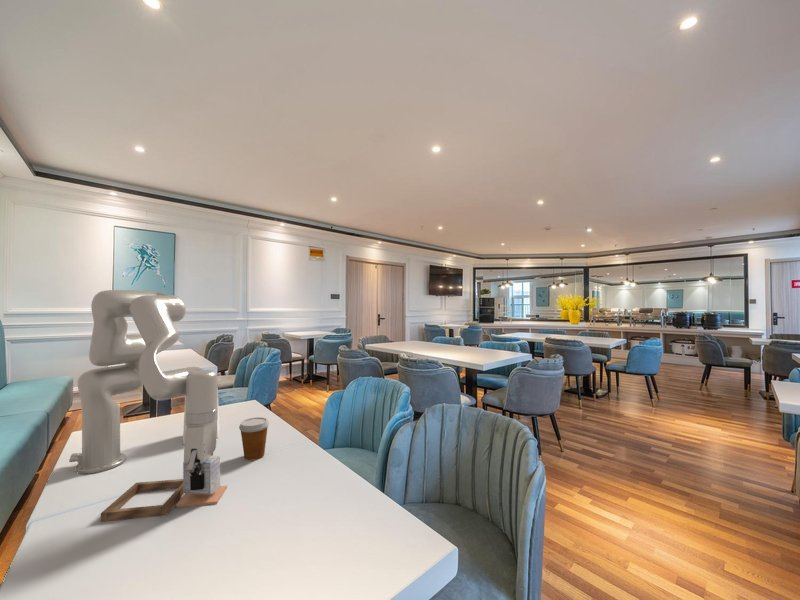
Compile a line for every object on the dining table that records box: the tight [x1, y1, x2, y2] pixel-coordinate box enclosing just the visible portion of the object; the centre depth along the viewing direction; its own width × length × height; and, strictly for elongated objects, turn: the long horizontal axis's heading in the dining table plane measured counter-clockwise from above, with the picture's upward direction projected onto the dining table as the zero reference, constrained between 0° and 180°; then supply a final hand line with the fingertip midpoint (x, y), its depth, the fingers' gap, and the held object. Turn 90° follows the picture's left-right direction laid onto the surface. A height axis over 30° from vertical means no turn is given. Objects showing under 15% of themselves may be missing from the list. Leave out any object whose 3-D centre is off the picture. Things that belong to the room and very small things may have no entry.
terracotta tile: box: [175, 485, 228, 508], centre depth 94 cm, size 10×8×1 cm
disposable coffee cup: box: [238, 416, 270, 461], centre depth 119 cm, size 10×10×12 cm
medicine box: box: [182, 454, 221, 494], centre depth 95 cm, size 8×4×9 cm, turn 85°
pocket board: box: [100, 478, 185, 522], centre depth 92 cm, size 14×14×2 cm
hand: (202, 482), depth 95 cm, fingers closed on medicine box, 5 cm apart
